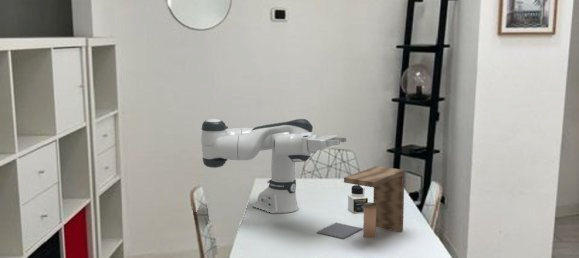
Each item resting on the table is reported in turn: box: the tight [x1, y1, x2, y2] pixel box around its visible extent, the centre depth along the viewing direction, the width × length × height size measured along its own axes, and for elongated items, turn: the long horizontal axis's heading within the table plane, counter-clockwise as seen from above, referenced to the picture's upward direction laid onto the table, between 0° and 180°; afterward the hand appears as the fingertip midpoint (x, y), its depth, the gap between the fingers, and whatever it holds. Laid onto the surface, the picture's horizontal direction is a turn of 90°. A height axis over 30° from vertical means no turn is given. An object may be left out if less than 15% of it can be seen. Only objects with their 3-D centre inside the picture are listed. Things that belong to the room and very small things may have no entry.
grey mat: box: [316, 222, 363, 240], centre depth 238 cm, size 13×15×1 cm
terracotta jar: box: [362, 202, 377, 239], centre depth 231 cm, size 5×5×13 cm
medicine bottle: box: [347, 184, 369, 214], centre depth 266 cm, size 7×7×12 cm
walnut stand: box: [343, 165, 405, 233], centre depth 230 cm, size 13×26×26 cm, turn 143°
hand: (342, 141), depth 228 cm, fingers open, 8 cm apart
